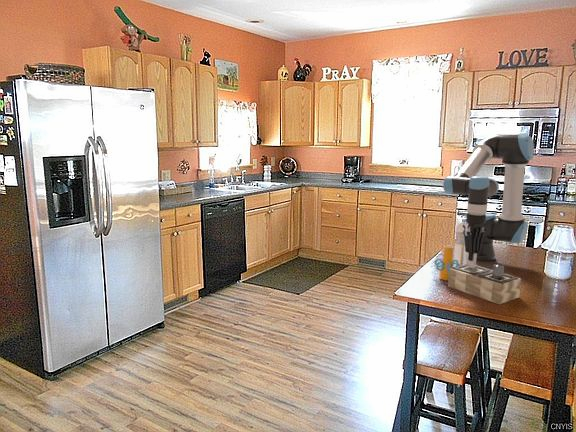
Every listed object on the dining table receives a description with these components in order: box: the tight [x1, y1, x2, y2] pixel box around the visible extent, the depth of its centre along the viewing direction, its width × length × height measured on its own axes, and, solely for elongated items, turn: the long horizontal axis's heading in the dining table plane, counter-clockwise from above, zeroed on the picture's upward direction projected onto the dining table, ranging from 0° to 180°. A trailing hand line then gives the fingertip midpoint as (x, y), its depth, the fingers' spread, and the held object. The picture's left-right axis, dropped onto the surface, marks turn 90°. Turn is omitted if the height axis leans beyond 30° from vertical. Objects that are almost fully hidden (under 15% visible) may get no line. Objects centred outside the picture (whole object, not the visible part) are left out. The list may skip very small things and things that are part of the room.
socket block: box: [447, 264, 522, 305], centre depth 190 cm, size 14×24×8 cm, turn 33°
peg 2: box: [492, 263, 505, 280], centre depth 184 cm, size 4×4×8 cm
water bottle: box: [453, 218, 469, 267], centre depth 218 cm, size 7×7×25 cm
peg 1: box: [466, 267, 477, 272], centre depth 195 cm, size 4×4×8 cm
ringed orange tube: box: [434, 245, 460, 281], centre depth 206 cm, size 12×10×15 cm
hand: (471, 267), depth 194 cm, fingers closed
